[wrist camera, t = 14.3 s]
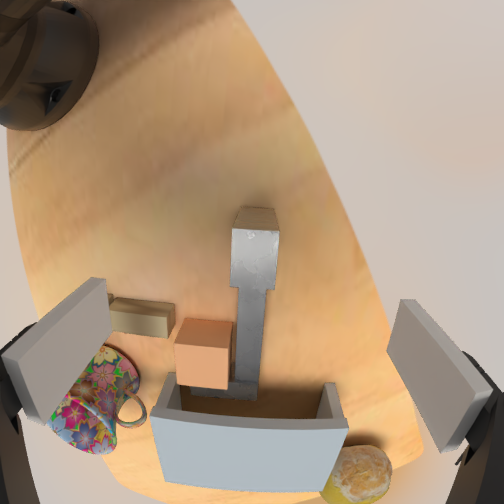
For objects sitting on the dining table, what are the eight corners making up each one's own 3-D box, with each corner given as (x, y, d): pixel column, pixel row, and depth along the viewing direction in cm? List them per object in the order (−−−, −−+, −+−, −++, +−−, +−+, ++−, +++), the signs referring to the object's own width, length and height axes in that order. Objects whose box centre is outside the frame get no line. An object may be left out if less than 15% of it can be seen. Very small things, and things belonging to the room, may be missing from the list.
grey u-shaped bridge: (168, 369, 35) (149, 416, 27) (335, 379, 34) (349, 428, 27) (177, 438, 38) (165, 481, 31) (315, 446, 38) (322, 491, 30)
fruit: (375, 463, 40) (388, 511, 30) (309, 471, 40) (315, 523, 31) (390, 424, 37) (411, 476, 27) (316, 433, 37) (325, 492, 28)
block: (185, 317, 33) (173, 343, 28) (232, 321, 33) (228, 348, 28) (187, 356, 34) (177, 384, 29) (231, 360, 34) (227, 389, 29)
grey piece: (194, 204, 29) (166, 224, 20) (274, 208, 29) (279, 231, 20) (196, 375, 35) (180, 431, 26) (259, 380, 35) (258, 438, 26)
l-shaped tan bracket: (93, 315, 33) (63, 347, 26) (89, 291, 32) (57, 320, 25) (175, 326, 33) (157, 365, 26) (174, 301, 32) (153, 336, 25)
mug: (92, 393, 37) (60, 446, 27) (69, 336, 34) (25, 386, 24) (172, 400, 36) (151, 464, 26) (155, 339, 33) (122, 403, 23)
